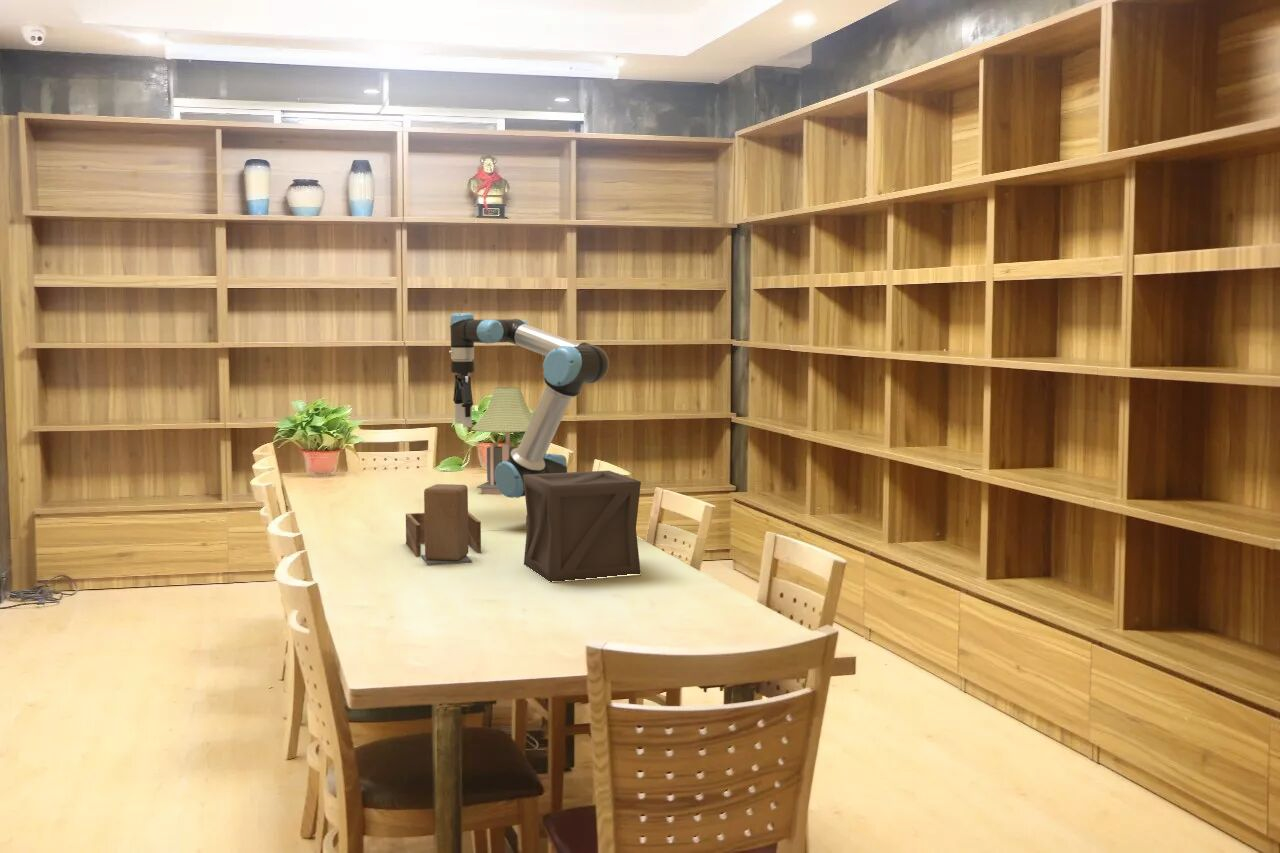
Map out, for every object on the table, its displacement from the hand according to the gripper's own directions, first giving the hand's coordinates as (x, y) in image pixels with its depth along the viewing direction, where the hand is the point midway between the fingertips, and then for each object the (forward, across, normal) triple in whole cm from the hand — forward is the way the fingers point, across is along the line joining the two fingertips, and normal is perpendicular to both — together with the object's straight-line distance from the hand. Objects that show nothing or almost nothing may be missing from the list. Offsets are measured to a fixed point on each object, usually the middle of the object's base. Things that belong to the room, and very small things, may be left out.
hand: (463, 425), depth 411 cm
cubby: (+32, +46, -15) cm, 58 cm away
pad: (+32, +63, -18) cm, 73 cm away
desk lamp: (+32, -61, +29) cm, 75 cm away
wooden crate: (+32, +89, +14) cm, 95 cm away
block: (+31, +63, -17) cm, 72 cm away
